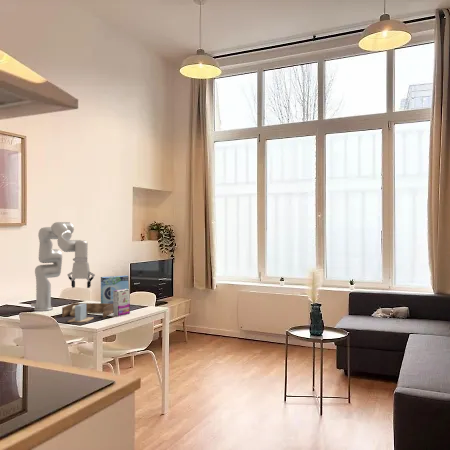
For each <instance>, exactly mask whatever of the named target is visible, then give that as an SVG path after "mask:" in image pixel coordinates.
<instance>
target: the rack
mask: <svg viewBox="0 0 450 450" xmlns="http://www.w3.org/2000/svg"><path fill="white" fill-rule="evenodd" d="M79 304H86V313H102V318H106V317H108V316H110V315H112V314H113V304H110V303H101V302H100V303H99V302H97V303H96V302H95V303H94V302H93V303H92V302H89V303H88V302H72V303H70V304H68V305H65V306H63V307H61V308H62V309H61V310H62V311H61V317H62V318H64V317H67V316H69V315H70V313H71V312H72V307H73V306H74V305H79Z"/></svg>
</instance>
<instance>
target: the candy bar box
mask: <svg viewBox="0 0 450 450" xmlns="http://www.w3.org/2000/svg"><path fill="white" fill-rule="evenodd" d="M130 294H131V291H130V289H129V288H128V289H122V290H117V291H113V313H112V314H113V316H114V317H121V316H125V315H129V314H131V305H130V304H131V302H130V301H131V298H130V296H131V295H130Z"/></svg>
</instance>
